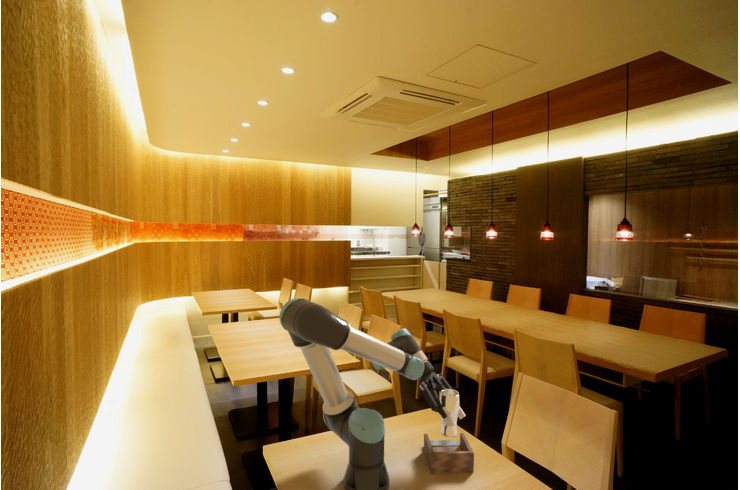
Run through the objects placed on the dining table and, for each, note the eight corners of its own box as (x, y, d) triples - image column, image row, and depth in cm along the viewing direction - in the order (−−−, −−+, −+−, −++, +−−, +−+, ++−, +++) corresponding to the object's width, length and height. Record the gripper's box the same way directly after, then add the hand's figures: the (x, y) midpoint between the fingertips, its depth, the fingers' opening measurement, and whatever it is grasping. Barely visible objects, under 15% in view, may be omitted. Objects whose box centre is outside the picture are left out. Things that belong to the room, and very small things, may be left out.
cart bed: (430, 473, 137) (431, 454, 137) (421, 445, 154) (422, 428, 154) (473, 472, 138) (474, 452, 138) (459, 444, 155) (460, 427, 154)
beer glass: (436, 429, 147) (436, 389, 146) (452, 426, 149) (453, 387, 148) (445, 439, 140) (445, 398, 139) (462, 436, 142) (463, 395, 141)
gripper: (428, 363, 161) (464, 415, 151) (399, 378, 146) (436, 437, 136) (440, 353, 157) (477, 406, 147) (410, 368, 142) (450, 427, 132)
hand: (457, 421), depth 142 cm, fingers closed on beer glass, 7 cm apart
